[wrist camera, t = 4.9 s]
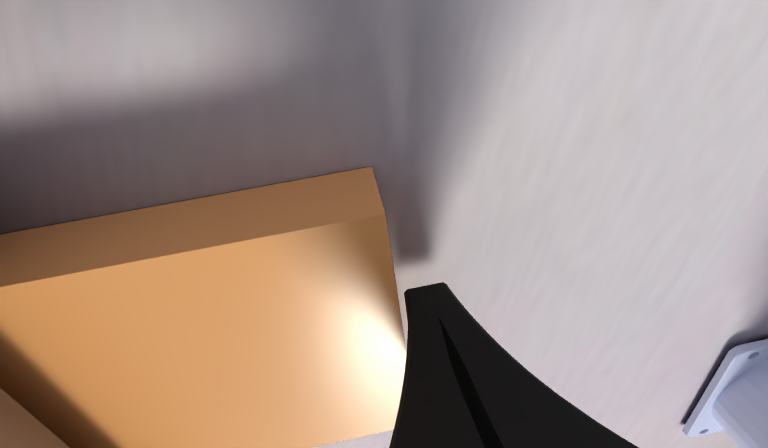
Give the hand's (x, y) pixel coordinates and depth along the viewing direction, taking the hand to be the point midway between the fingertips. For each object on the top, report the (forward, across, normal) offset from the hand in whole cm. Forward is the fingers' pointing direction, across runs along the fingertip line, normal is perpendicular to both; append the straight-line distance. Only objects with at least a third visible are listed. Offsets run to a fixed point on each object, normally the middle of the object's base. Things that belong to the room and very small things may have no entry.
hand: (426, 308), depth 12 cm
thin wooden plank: (+1, +7, 0) cm, 8 cm away
